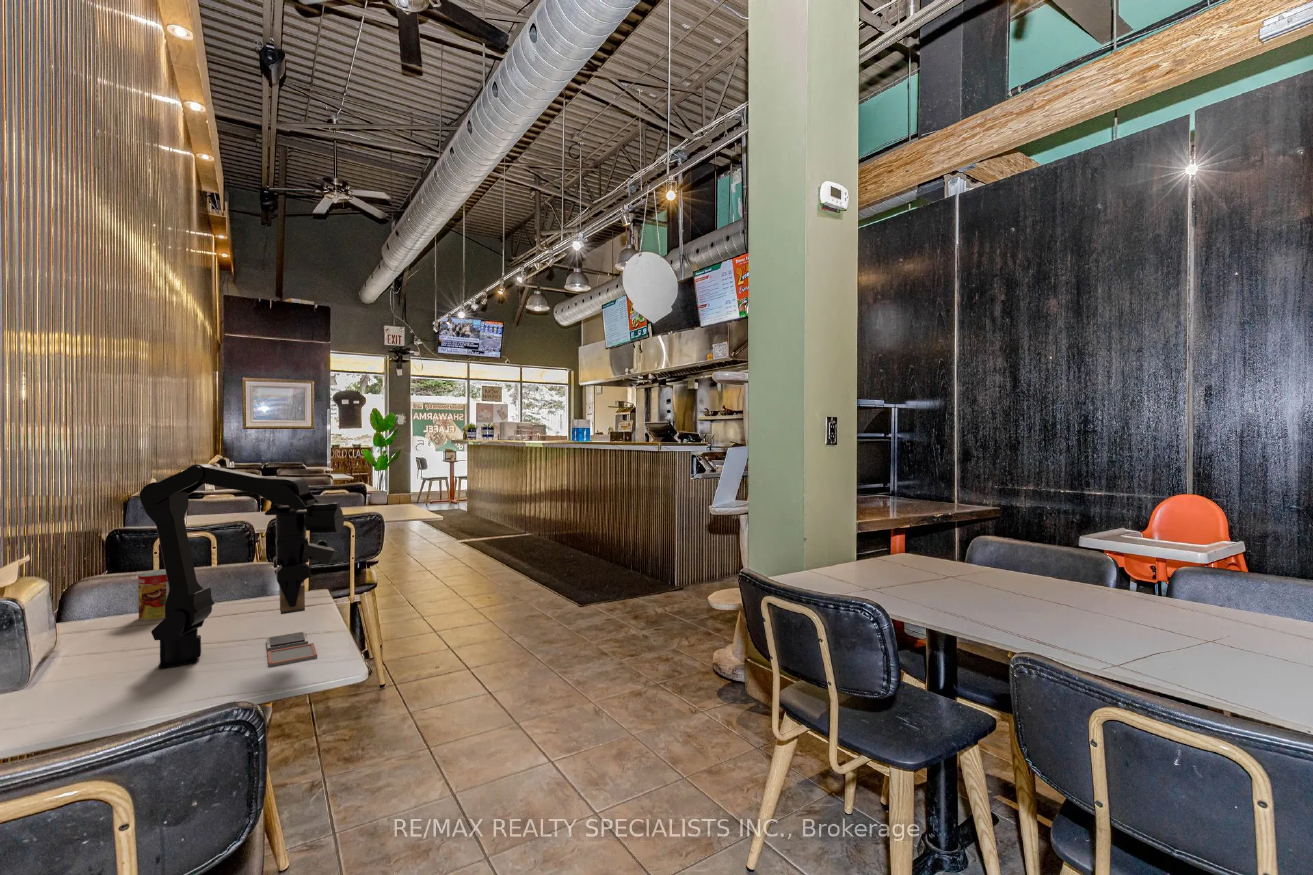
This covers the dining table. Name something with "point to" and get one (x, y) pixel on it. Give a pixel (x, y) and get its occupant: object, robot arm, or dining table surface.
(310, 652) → the tile
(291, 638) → the pad
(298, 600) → the stamp
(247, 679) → the dining table surface
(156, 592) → the canned food
